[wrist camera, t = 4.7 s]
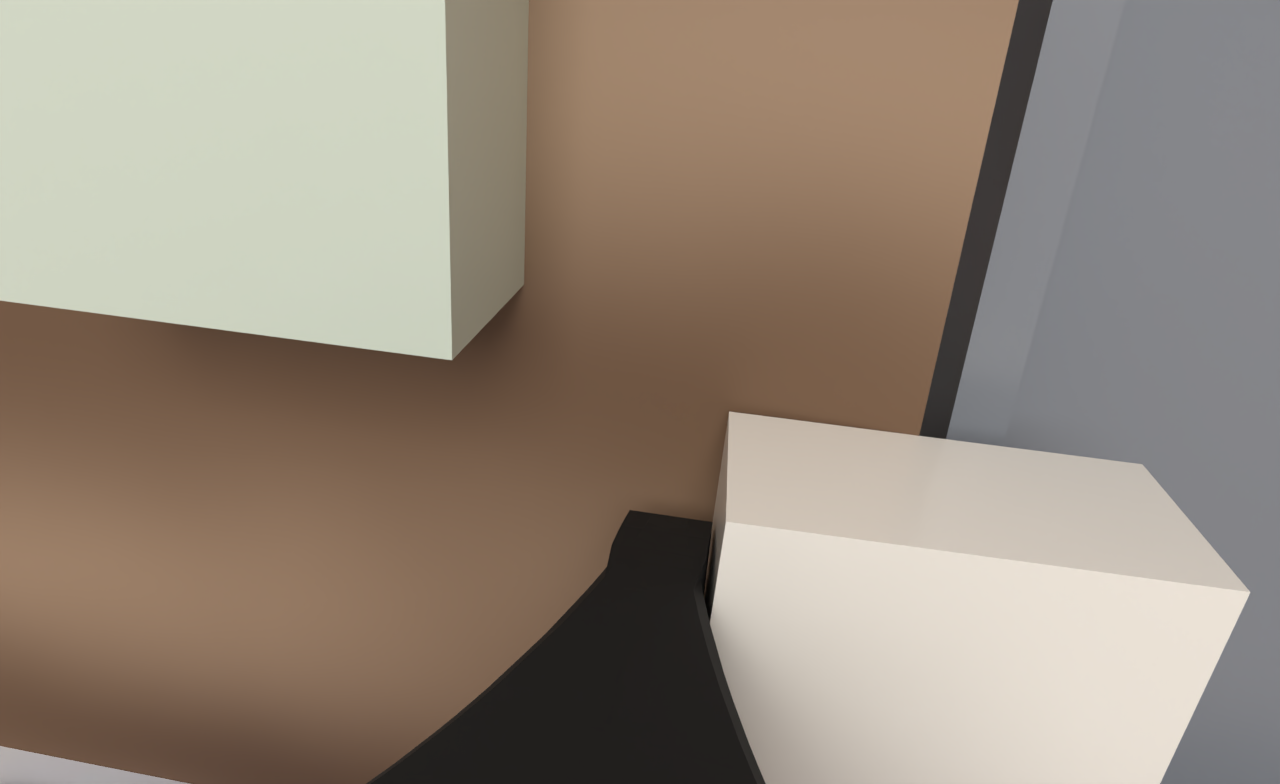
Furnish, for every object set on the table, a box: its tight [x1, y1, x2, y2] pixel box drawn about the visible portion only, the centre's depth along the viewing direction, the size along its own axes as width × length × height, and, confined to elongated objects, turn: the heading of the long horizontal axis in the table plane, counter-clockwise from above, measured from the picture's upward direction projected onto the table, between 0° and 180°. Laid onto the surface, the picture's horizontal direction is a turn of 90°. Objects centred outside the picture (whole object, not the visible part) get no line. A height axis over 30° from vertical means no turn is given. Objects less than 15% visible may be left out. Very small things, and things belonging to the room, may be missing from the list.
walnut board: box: [0, 0, 1019, 784], centre depth 11 cm, size 13×12×3 cm
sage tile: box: [0, 0, 529, 360], centre depth 7 cm, size 4×4×2 cm
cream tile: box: [704, 412, 1250, 784], centre depth 9 cm, size 4×4×2 cm
